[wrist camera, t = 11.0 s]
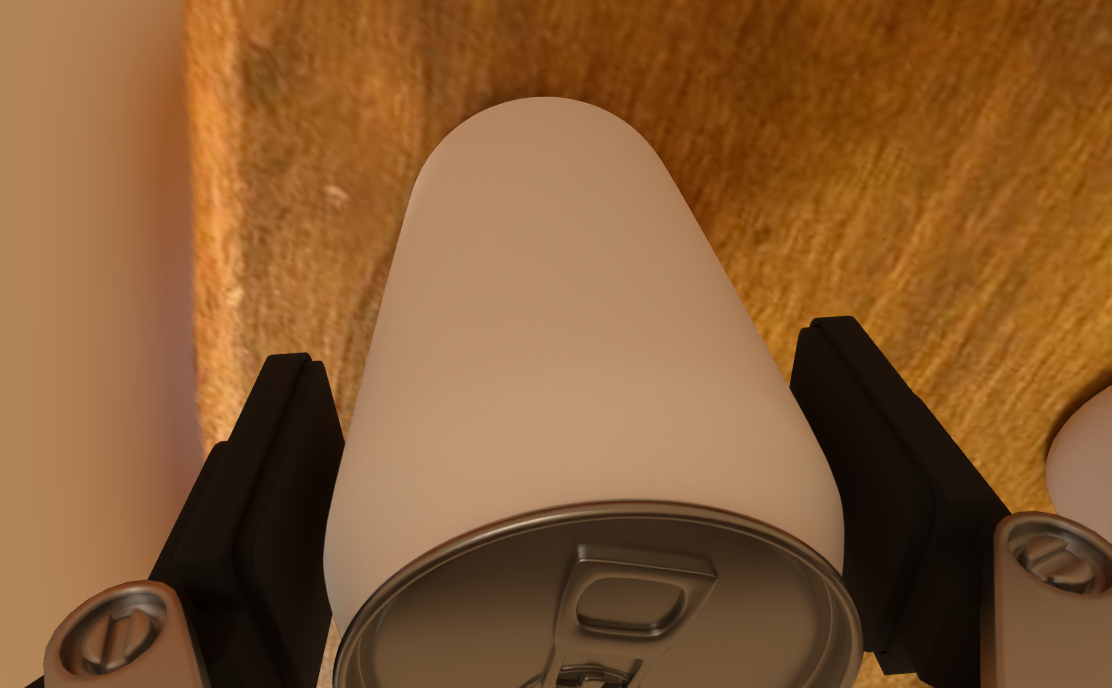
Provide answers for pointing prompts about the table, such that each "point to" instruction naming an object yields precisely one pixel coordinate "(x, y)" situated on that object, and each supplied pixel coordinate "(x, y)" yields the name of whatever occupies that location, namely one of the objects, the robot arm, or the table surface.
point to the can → (576, 441)
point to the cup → (1084, 466)
